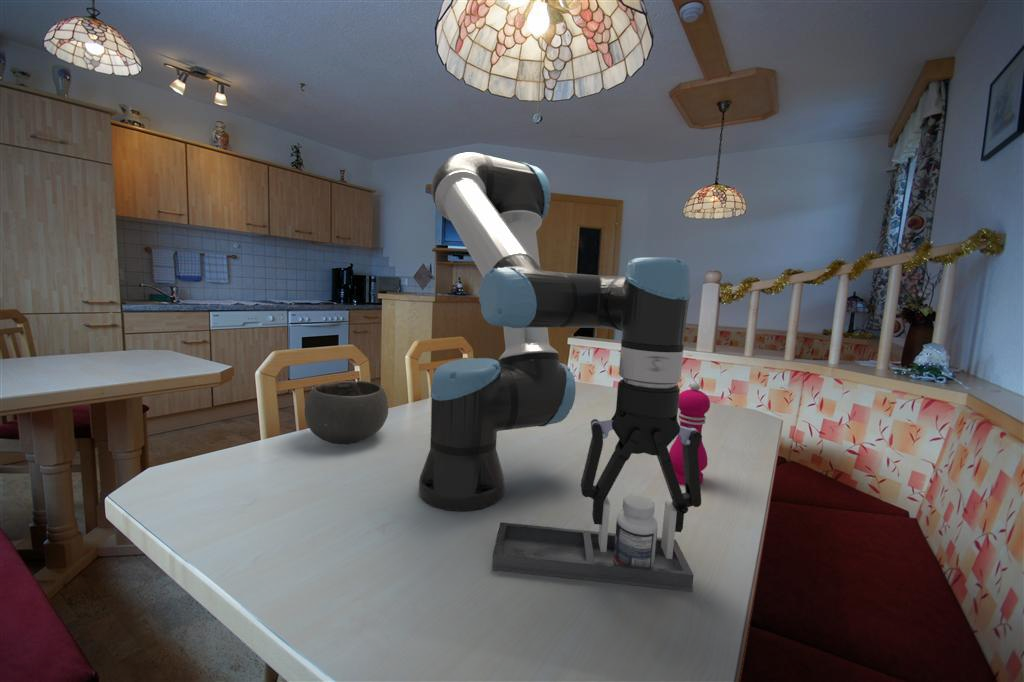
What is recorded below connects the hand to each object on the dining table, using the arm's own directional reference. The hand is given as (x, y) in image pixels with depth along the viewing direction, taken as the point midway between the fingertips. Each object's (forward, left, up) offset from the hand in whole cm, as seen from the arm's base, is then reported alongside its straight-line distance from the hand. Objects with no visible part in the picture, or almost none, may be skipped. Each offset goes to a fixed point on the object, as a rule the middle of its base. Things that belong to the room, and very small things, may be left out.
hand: (634, 548), depth 56 cm
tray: (-6, 0, -2) cm, 6 cm away
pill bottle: (0, 0, -2) cm, 2 cm away
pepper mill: (+16, +30, -3) cm, 34 cm away
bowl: (-58, +36, -3) cm, 68 cm away
